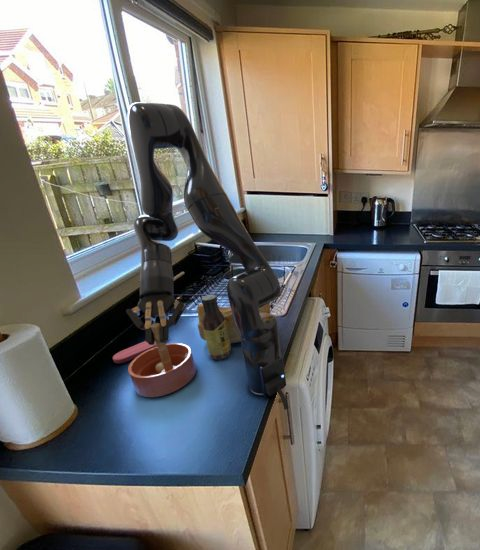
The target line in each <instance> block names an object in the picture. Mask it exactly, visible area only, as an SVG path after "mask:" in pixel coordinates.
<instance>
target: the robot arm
mask: <svg viewBox="0 0 480 550" xmlns="http://www.w3.org/2000/svg"><path fill="white" fill-rule="evenodd" d="M127 111H128V112H127V121H128V122H127V123H128V129H129V134H130V141H131V143H132V148H133V154H134V158H135V162H136V167H137V171H138V175H139V182H140V205H141V211H142V212H143V213H144V214H141V215H138V216H137V217H136V218H135V219H134V221H133V229H134V230H133V231H134V233H135V235H136V238H137V240H138V243H139V246H140V254H141V255H140V256H141V257H140V258H141V259H140V269H139V300H138V302H137V304H136V305H137V306H135V307H132V308H127V309H126V311H125V313H126V314H127V315H128V317H129V318H130V320H131V321H132V323H133V324H134V325H135V327H136V328H137V329H140V330H141V331H144V332H145V341H146V342H147V343H148V344H150V345H154V344H155V339H154V336H153V333H152V330H151V325H152V324H155V323H156V319H157V318H158V317H159V320H160V326H161V327H160V342H162V343H166V344H167V341H169V339H170V336H169V333H170V331H169V328H170V327H172V326H175V325H177V324H178V322H179V320H180V319H181V317H182V315H183V313H184V311H185V309H186V308H187V305H186V304H185V303H184V302H183V301H177V300H176V299H175V291H174V290H175V289H174V288H175V287H174V269H173V259H172V258H173V256H172V249H171V247H170V246H169V245H167V244H165V243H161V241H162V242H172V241H174V240H175V239H176V238H177V237H178V235H179V226H178V223H177V221H176V218H175V215H174V212H173V211H174V209H173V202H174V189H173V186H172V183H171V181H170V179H168V177H167V176H166V174H165V173H164V172H163V170H162V169H161V168H160V167H159V166H158V164H157V161H156V159H155V150H162V149H163V150H164V149H165V150H166V149H177V150H178V152H179V154H180V155H181V156H182V159H183V161H184V164H185V169H186V170H185V171H186V172H185V173H186V174H185V182H184V187H183V202H184V203H183V204H184V205H185V208H186V210H187V211H188V213H189V215H190V216H191V219H192V220H193V222H194V223H195V226H196V227H197V228H198V230H199V231H200V232H201V233H202V234H204V235H205V236H206V237H207V238H209V239H210V240H211V241H213V242H215V243H216V244H218V245H219V246H221V247H223V248H224V249H226V250H227V251H229V253H231V254H233V255H234V257H236V259H237V260H238V262H240V264H241V265H242V267H243V269H244V270H245V271H244V272H241V273H239V274H236V275H234V276H232V277H230V278H229V279H228V281H227V283H226V285H227V286H226V294H227V298H228V302H229V307H230V306H231V310H232V314H233V318H234V322H235V324H236V326H237V328H238V330H239V334H240V340H241V342H240V343H241V345H240V346H241V350H242V355H243V360H244V361H243V362H244V366H245V371H246V377H247V382H248V388H249V392H250V393H251V394H253V395H254V396H258V397H264V398H265V399H268V398H270V397H272V396H273V395H275V394H276V393H277V394H278V395H279V397H280V399H281V402H282V406H283V409H284V411H285V410H288V409H289V405H288V400H287V398H286V396H285V394H284V392H283V391H282V390H283V389H284V388H285V387H286V386H287V379H286V373H285V364H284V357H282V349H281V340H280V334H279V326H278V319H277V318H276V316H275V315H274V314H272V313H270V314H269V313H264V312H259V308H261V307H263V306H264V305H266V304H268V303H270V304H271V302H274V301H275V300H277V299H278V298H279V297H280V294H281V284H280V281H279V279H278V277H277V275H276V273H275V271H274V270H273V268H272V266H271V265H270V263H269V262H268V261H267V259H266V258H265V256H264V255H263V254H262V252H261V251H260V249H259V248H258V246H257V245H256V243H255V242H254V240H253V239H252V237H251V235H250V234H249V232H248V231H247V229H246V227H245V225H244V223H243V221H242V220H241V219H240V217H239V215H238V212H237V210H236V209H235V207H234V205H233V203H232V202H231V200H230V198H229V196H228V194H227V192H226V191H225V189H224V188H223V186H222V185H221V182H220V180H219V179H218V177H217V176H216V174H215V172H214V170H213V167H212V166H211V164H210V162H209V160H208V158H207V156H206V153H205V151H204V149H203V148H202V145H201V143H200V140H199V138H198V136H197V134H196V132H195V130H194V127H193V125H192V123H191V121H190V120H189V118H188V116H187V115H186V113H185V112H184V110H183V109H182V108H180V107H179V106H177V105H175V104H171V103H158V102H157V103H155V102H133V103H132V104H130V106H129V108H128V110H127ZM157 241H160V242H157ZM173 308H174V310H173V312H172V314H171V316H169V314H170V312H171V311H172V309H173ZM140 311H141V312H142V313H143V314H144V321H145V323H144V321H142V319H141V318H140V317H139V316H140V315H141V312H140Z"/></svg>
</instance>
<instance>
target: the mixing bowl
mask: <svg viewBox="0 0 480 550" xmlns="http://www.w3.org/2000/svg"><path fill="white" fill-rule="evenodd" d="M166 346H167V349H168V352H169V355H170V359H171V362H172V365H173V366H176V367H175V368H173V369H171V370H169V371H166V372H164V373H158V372H156V370H155V367H156V365H157V364H158V363H160V362H162V361H161V357H160V354H159V351H158V348H157V347H154V348H151V349H149V350H147V351H145V352H143V353H142V354H140V355H139V356H137V357H136V358H134V359H132V360H131V362H130V363H129V365H128V367H127V368H128V369H127V373H128V375H129V377H130V380H131V382H132V385H133V388H134V390H135V393H136V394H137V395H139V396H141V397H145V398H157V397H162V396H166V395H169V394H171V393H174V392H176V391H178V390H181V388H183V387H185V386H186V385H187V384H189V382H191V381H192V379H193V378H194V377H195V375H196V372H197V366H196V362H195V359H194V355H193V351H192V348H191V347H190V346H189V345H188V344H185V343H181V342H170V343H166Z"/></svg>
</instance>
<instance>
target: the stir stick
mask: <svg viewBox="0 0 480 550" xmlns="http://www.w3.org/2000/svg"><path fill="white" fill-rule="evenodd" d="M160 327H161V323H159V322H155V323H154V324H152V325H151V330H152V333H153V336H154V339H155V342H156V345H157V348H158V351H159V354H160V357H161V361H162V364H163V367H164V369H163V370H162V371H161V373H164V372H166V371H169V370H171V369H173V368H175V367H176V366H173V365H172V362H171V359H170V355H169V352H168V349H167V346H166V344H167V342H166V343H162V342H160Z"/></svg>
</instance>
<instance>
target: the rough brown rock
mask: <svg viewBox="0 0 480 550" xmlns="http://www.w3.org/2000/svg"><path fill="white" fill-rule="evenodd" d="M218 307H219V310H220V312H221V313H222V314H223V316H224V317H225V320H226V325H227V330H228V335H229V340H230V344H236V343H241V340H240V334H239V330H238V328H237V326H236V324H235V322H234V318H233V314H232V310H231V306H230V305H229V306H227V307H225V306H220V305H218ZM196 312H197V319H198V322H197V323H198V324H197V329H198V333H199V337H200V338H201V339H202V340H203V341H205V342H206V338H205V334H204V329H203V323H202V318H203V315H204V313H205V312H204V307H203V304H202V303H200V304H199V305H197V306H196ZM259 312H264V313H269V314H271V302H270V303H268V304H266V305H264V306H263V307H261V308H259Z"/></svg>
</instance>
